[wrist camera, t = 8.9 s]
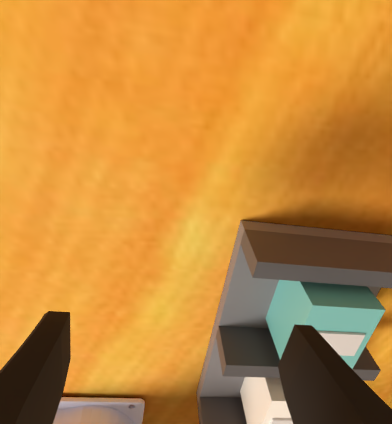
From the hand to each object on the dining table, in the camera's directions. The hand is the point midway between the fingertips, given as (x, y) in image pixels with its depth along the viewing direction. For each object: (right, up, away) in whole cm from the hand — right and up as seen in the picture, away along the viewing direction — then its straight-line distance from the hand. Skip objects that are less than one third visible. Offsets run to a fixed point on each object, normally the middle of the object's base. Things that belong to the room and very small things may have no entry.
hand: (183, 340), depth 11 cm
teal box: (+7, -1, +11) cm, 13 cm away
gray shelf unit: (+7, -4, +14) cm, 16 cm away
